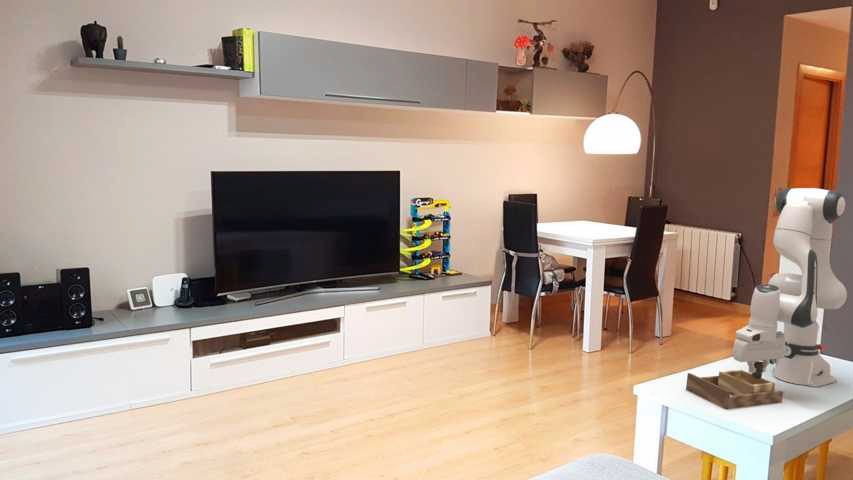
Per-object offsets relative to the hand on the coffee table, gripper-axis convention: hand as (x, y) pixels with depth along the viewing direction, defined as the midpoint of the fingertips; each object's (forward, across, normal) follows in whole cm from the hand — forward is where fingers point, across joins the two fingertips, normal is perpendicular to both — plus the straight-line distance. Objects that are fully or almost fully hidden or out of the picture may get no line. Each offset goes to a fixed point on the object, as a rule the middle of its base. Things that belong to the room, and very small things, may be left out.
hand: (757, 372), depth 239 cm
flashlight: (+9, -38, -34) cm, 52 cm away
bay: (+9, +10, 0) cm, 13 cm away
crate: (+8, +4, 0) cm, 9 cm away
